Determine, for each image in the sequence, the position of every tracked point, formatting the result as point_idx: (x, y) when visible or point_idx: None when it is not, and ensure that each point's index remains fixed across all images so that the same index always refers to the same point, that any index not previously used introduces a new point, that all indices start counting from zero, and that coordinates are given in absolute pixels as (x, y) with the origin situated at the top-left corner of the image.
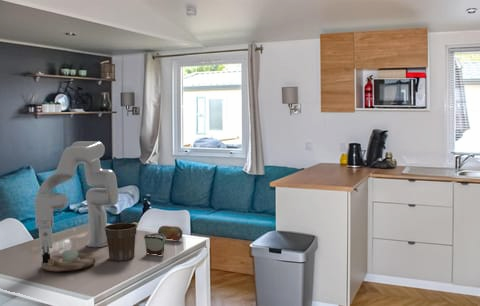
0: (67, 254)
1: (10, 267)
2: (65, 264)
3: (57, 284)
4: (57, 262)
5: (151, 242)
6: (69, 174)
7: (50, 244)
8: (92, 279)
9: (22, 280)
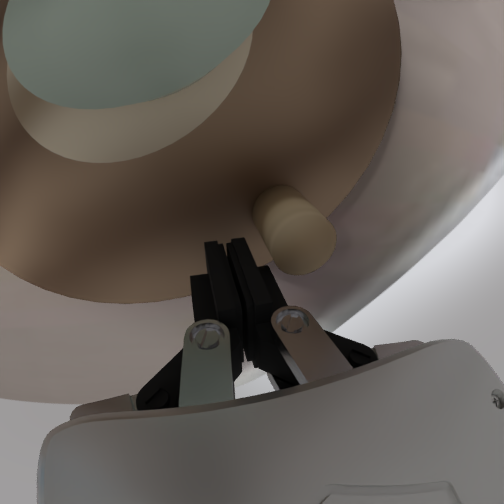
0: (263, 14)
1: (98, 392)
2: (301, 70)
3: (468, 164)
4: (177, 155)
5: None
6: None
7: (498, 395)
8: (473, 11)
9: (331, 321)
